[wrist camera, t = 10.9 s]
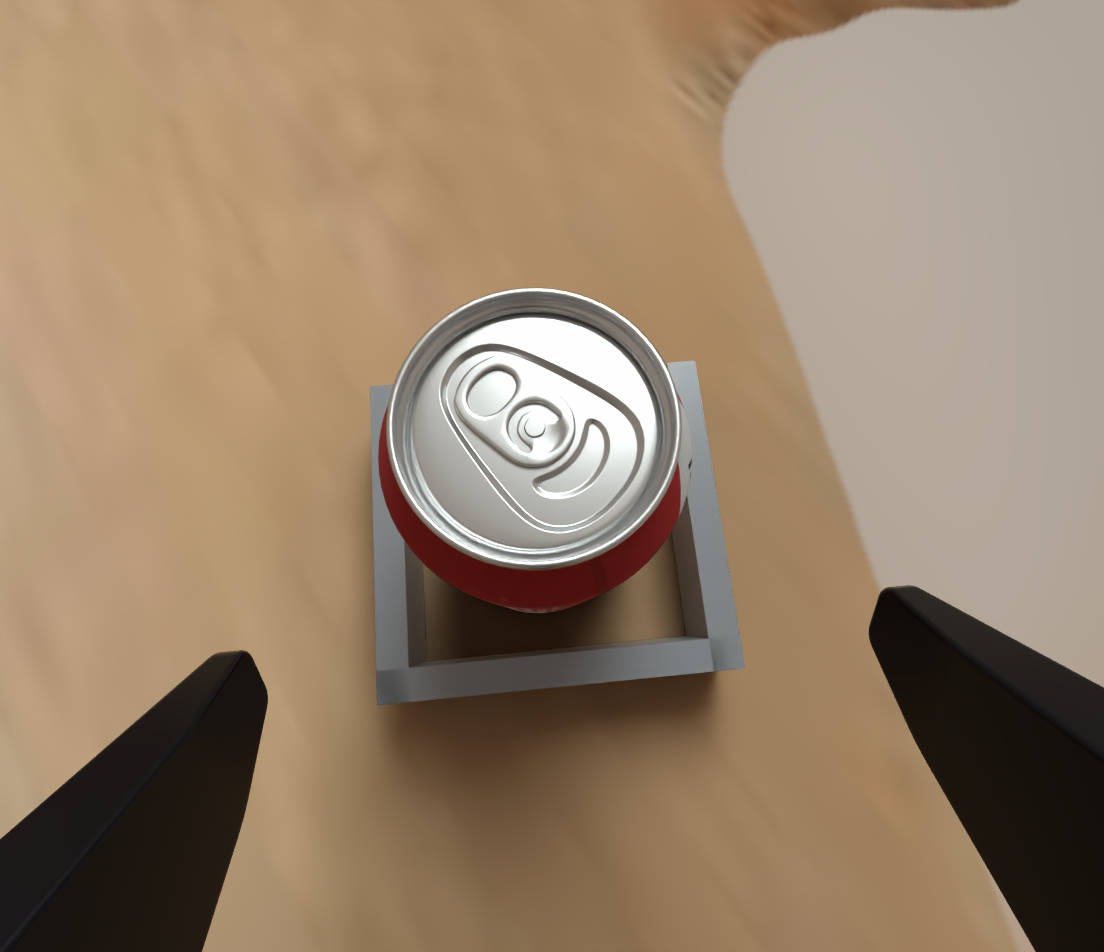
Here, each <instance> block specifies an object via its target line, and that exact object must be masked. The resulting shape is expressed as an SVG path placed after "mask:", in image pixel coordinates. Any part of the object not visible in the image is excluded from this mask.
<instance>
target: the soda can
mask: <svg viewBox="0 0 1104 952" xmlns="http://www.w3.org/2000/svg"><path fill="white" fill-rule="evenodd" d="M378 465H379V476H380V482H381V488H382V492H383V496H384V499H385V503H386V506H387V508H388V511H389V513H390V516H391V518H392V520H393V522H394V524H395V526H396V528H397V530H398V532H399V533H400V535H401V536H402V538H403V539H404V541H405V542H406V544H407V545H408V547H409V548H410V549H411V550H412V551H413V553H414V554H415V555H416V556H417V557H418V558H419V559H420V560H421V561H422V562H423V563H424V564H425V565H426V566H427V567H428V568H429V569H430V570H431V571H432V572H434V573H435V574H436V575H437V576H439V577H440V578H441V579H443V580H444V581H446V582H447V583H449V584H450V585H452V586H453V587H455V588H457V589H459V590H461V591H463V592H465V593H467V594H469V595H471V596H474V597H476V598H479V599H482V600H484V601H487V602H491V603H494V604H497V605H500V606H503V607H506V608H509V609H513V610H517V611H521V612H527V613H549V612H556V611H560V610H564V609H567V608H570V607H573V606H575V605H578V604H580V603H582V602H585V601H587V600H589V599H592V598H594V597H596V596H598V595H600V594H603V593H605V592H607V591H609V590H611V589H613V588H614V587H616V586H618V585H619V584H621V583H623V582H624V581H626V580H627V579H628V578H630V577H631V576H632V575H634V574H635V573H636V572H637V571H639V570H640V569H641V568H642V567H643V566H644V565H645V564H646V563H647V562H648V561H649V560H650V559H651V558H652V557H653V556H654V555H655V554H656V553H657V551H658V550H659V549H660V548H661V546H662V545H663V543H664V542H665V541H666V539H667V538H668V536H669V535H670V533H671V531H672V529H673V528H674V526H675V524H676V522H677V520H678V518H679V516H680V513H681V511H682V508H683V505H684V502H685V500H686V497H687V492H688V488H689V483H690V477H691V469H692V445H691V435H690V430H689V424H688V420H687V417H686V413H685V410H684V407H683V404H682V402H681V400H680V397H679V395H678V393H677V391H676V387H675V384H674V381H673V379H672V376H671V374H670V372H669V369H668V368H667V366H666V364H665V362H664V360H663V358H662V357H661V355H660V354H659V352H658V351H657V349H656V348H655V346H654V345H653V344H652V343H651V342H650V340H649V339H648V338H647V337H646V336H645V335H644V334H643V333H642V332H641V331H640V330H639V329H638V328H637V327H636V326H635V325H634V324H633V323H632V322H630V321H629V320H628V319H627V318H625V317H624V316H622V315H621V314H620V313H618V312H617V311H615V310H613V309H612V308H610V307H608V306H606V305H605V304H602V303H600V302H598V301H596V300H594V299H591V298H588V297H586V296H583V295H580V294H576V293H572V292H568V291H564V290H557V289H550V288H519V289H510V290H505V291H500V292H496V293H493V294H489V295H486V296H483V297H480V298H478V299H475V300H472V301H470V302H468V303H466V304H464V305H462V306H460V307H459V308H457V309H455V310H454V311H452V312H450V313H449V314H447V315H446V316H445V317H443V318H442V319H441V320H439V321H438V322H437V323H436V324H434V325H433V326H432V327H431V328H430V329H429V330H428V331H427V332H426V333H425V334H424V335H423V336H422V337H421V338H420V340H419V341H418V342H417V343H416V344H415V346H414V347H413V348H412V350H411V351H410V352H409V354H408V356H407V357H406V359H405V361H404V362H403V364H402V366H401V368H400V370H399V372H398V374H397V376H396V379H395V382H394V385H393V387H392V391H391V395H390V399H389V403H388V406H387V409H386V411H385V414H384V418H383V422H382V426H381V431H380V438H379V449H378Z"/></svg>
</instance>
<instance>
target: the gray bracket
mask: <svg viewBox="0 0 1104 952" xmlns="http://www.w3.org/2000/svg"><path fill="white" fill-rule="evenodd" d="M666 366H667V368H668V369H669V372H670V374H671V376H672V379H673V381H674V384H675V387H676V391H677V393H678V395H679V397H680V400H681V402H682V404H683V407H684V410H685V413H686V417H687V420H688V424H689V430H690V435H691V445H692V469H691V477H690V483H689V488H688V492H687V497H686V500H685V502H684V505H683V508H682V511H681V513H680V516H679V518H678V520H677V522H676V524H675V526H674V528H673V529H672V531H671V532H672V539H673V546H674V553H675V560H676V567H677V574H678V581H679V589H680V596H681V603H682V610H683V617H684V624H685V631H686V636H681V637H671V638H660V639H650V640H640V641H630V642H620V643H609V644H599V645H589V646H579V647H569V648H558V649H548V650H538V651H528V652H518V653H508V654H497V655H487V656H477V657H467V658H457V659H446V660H436V661H427V654H426V630H425V605H424V581H423V562H422V561H421V560H420V559H419V558H418V557H417V556H416V555H415V554H414V553H413V551H412V550H411V549H410V548H409V547H408V545H407V544H406V542H405V541H404V539H403V538H402V536H401V535H400V533H399V532H398V530H397V528H396V526H395V524H394V522H393V520H392V518H391V516H390V513H389V511H388V508H387V506H386V503H385V499H384V496H383V492H382V488H381V482H380V476H379V465H378V449H379V438H380V431H381V426H382V422H383V418H384V414H385V411H386V409H387V406H388V403H389V399H390V395H391V391H392V387H393V385H384V386H372V387H370V408H371V454H372V499H373V544H374V589H375V635H376V680H377V705H385V704H395V703H405V702H415V701H425V700H435V699H445V698H455V697H465V696H475V695H485V694H495V693H505V692H515V691H525V690H534V689H544V688H554V687H564V686H574V685H584V684H594V683H604V682H614V681H624V680H634V679H644V678H654V677H664V676H673V675H683V674H693V673H703V672H713V671H723V670H733V669H743V668H745V665H744V659H743V653H742V647H741V640H740V634H739V628H738V622H737V616H736V610H735V604H734V597H733V591H732V585H731V579H730V573H729V567H728V560H727V554H726V548H725V542H724V536H723V530H722V524H721V517H720V511H719V505H718V499H717V493H716V487H715V481H714V474H713V468H712V462H711V456H710V450H709V444H708V437H707V431H706V425H705V419H704V413H703V407H702V401H701V394H700V388H699V382H698V376H697V370H696V364H695V361H685V362H673V363H667V365H666Z"/></svg>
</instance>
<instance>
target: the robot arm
mask: <svg viewBox="0 0 1104 952" xmlns="http://www.w3.org/2000/svg"><path fill="white" fill-rule="evenodd" d="M869 639H870V643H871V645H872V648H873V650H874V652H875V655H876V657H877V659H878V661H879V663H880V666H881V668H882V670H883V672H884V674H885V677H886V679H887V681H888V683H889V686H890V688H891V690H892V692H893V694H894V697H895V699H896V701H897V703H898V706H899V708H900V710H901V712H902V714H903V717H904V719H905V721H906V723H907V725H908V728H909V730H910V732H911V734H912V736H913V738H914V740H915V742H916V744H917V746H918V748H919V749H920V751H921V753H922V755H923V757H924V759H925V760H926V762H927V764H928V766H929V767H930V769H931V771H932V773H933V774H934V776H935V778H936V780H937V781H938V783H939V785H940V786H941V788H942V790H943V792H944V793H945V795H946V797H947V799H948V800H949V802H950V804H951V806H952V807H953V809H954V811H955V813H956V814H957V816H958V818H959V819H960V821H961V823H962V825H963V826H964V828H965V830H966V832H967V833H968V835H969V837H970V839H971V840H972V842H973V844H974V846H975V847H976V849H977V851H978V852H979V854H980V856H981V858H982V859H983V861H984V863H985V865H986V866H987V868H988V870H989V872H990V873H991V875H992V877H993V879H994V880H995V882H996V884H997V885H998V887H999V889H1000V891H1001V892H1002V894H1003V896H1004V898H1005V899H1006V901H1007V903H1008V904H1009V906H1010V908H1011V910H1012V911H1013V913H1014V915H1015V917H1016V918H1017V920H1018V922H1019V924H1020V925H1021V927H1022V929H1023V930H1024V932H1025V934H1026V936H1027V937H1028V939H1029V941H1030V943H1031V945H1032V946H1033V948H1034V950H1035V951H1036V952H1104V688H1103V687H1101V686H1100V685H1098V684H1096V683H1094V682H1092V681H1090V680H1088V679H1086V678H1085V677H1083V676H1081V675H1079V674H1077V673H1076V672H1073V671H1072V670H1070V669H1068V668H1066V667H1064V666H1063V665H1061V664H1059V663H1057V662H1055V661H1053V660H1052V659H1050V658H1048V657H1046V656H1044V655H1042V654H1040V653H1039V652H1037V651H1035V650H1033V649H1031V648H1029V647H1027V646H1026V645H1023V644H1022V643H1020V642H1018V641H1016V640H1015V639H1013V638H1011V637H1009V636H1007V635H1005V634H1003V633H1002V632H1000V631H998V630H996V629H994V628H992V627H990V626H989V625H987V624H985V623H983V622H981V621H979V620H977V619H976V618H974V617H972V616H970V615H968V614H966V613H964V612H963V611H961V610H959V609H957V608H955V607H953V606H952V605H950V604H947V603H946V602H944V601H942V600H940V599H939V598H936V597H935V596H933V595H931V594H929V593H927V592H925V591H924V590H922V589H920V588H918V587H915V586H909V585H907V586H896V587H887V588H885V589H883V590H882V591H881V592H880V595H879V597H878V600H877V604H876V607H875V610H874V613H873V616H872V619H871V622H870V626H869ZM267 704H268V694H267V689H266V686H265V684H264V682H263V680H262V678H261V675H260V673H259V671H258V669H257V667H256V665H255V662H254V660H253V658H252V656H251V655H250V654H249V653H248V652H247V651H243V650H239V651H229V652H220V653H216V654H214V655H212V656H211V657H210V658H208V659H207V660H206V661H205V662H204V663H203V664H201V665H200V666H199V667H198V668H197V669H196V670H195V671H193V672H192V673H191V674H190V675H189V676H188V677H186V678H185V679H184V680H183V681H182V682H181V683H180V684H178V685H177V686H176V687H175V688H174V689H173V690H171V691H170V692H169V693H168V694H167V695H166V696H165V697H163V698H162V699H161V700H160V701H159V702H158V703H157V704H155V705H154V706H153V707H152V708H151V709H150V710H148V711H147V712H146V713H145V714H144V715H143V716H142V717H140V718H139V719H138V720H137V721H136V722H135V723H134V724H132V725H131V726H130V727H129V728H128V729H127V730H125V731H124V732H123V733H122V734H121V735H120V736H119V737H117V738H116V739H115V740H114V741H113V742H112V743H110V744H109V745H108V746H107V747H106V748H105V749H104V750H102V751H101V752H100V753H99V754H98V755H97V756H96V757H94V758H93V759H92V760H91V761H90V762H89V763H87V764H86V765H85V766H84V767H83V768H82V769H81V770H79V771H78V772H77V773H76V774H75V775H74V776H72V777H71V778H70V779H69V780H68V781H67V782H66V783H64V784H63V785H62V786H61V787H60V788H59V789H58V790H56V791H55V792H54V793H53V794H52V795H51V796H49V797H48V798H47V799H46V800H45V801H44V802H43V803H41V804H40V805H39V806H38V807H37V808H36V809H34V810H33V811H32V812H31V813H30V814H29V815H28V816H26V817H25V818H24V819H23V820H22V821H21V822H20V823H18V824H17V825H16V826H15V827H14V828H13V829H11V830H10V831H9V832H8V833H7V834H6V835H5V836H3V837H2V838H1V839H0V952H202V950H203V947H204V943H205V940H206V937H207V934H208V931H209V928H210V924H211V921H212V918H213V915H214V912H215V909H216V905H217V902H218V899H219V896H220V893H221V890H222V886H223V883H224V880H225V877H226V874H227V871H228V867H229V864H230V861H231V858H232V855H233V852H234V848H235V845H236V842H237V839H238V836H239V832H240V829H241V825H242V822H243V819H244V815H245V810H246V806H247V802H248V798H249V793H250V788H251V783H252V778H253V773H254V768H255V763H256V759H257V754H258V749H259V744H260V739H261V734H262V729H263V724H264V719H265V715H266V710H267Z"/></svg>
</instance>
